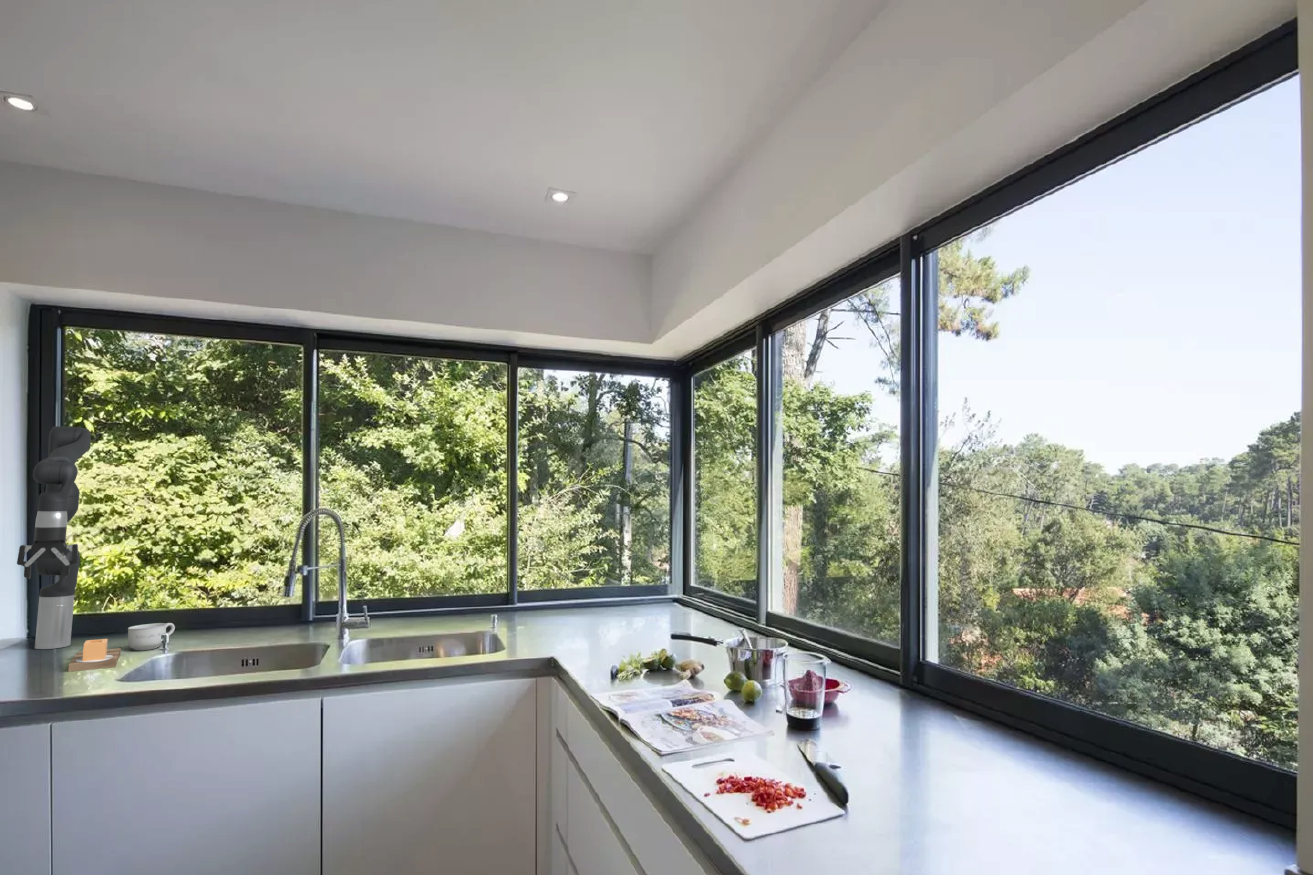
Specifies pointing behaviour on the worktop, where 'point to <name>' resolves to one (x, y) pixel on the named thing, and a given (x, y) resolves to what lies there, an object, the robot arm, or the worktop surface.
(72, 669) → the shaft board
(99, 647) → the orange block
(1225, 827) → the worktop surface
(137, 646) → the teacup
